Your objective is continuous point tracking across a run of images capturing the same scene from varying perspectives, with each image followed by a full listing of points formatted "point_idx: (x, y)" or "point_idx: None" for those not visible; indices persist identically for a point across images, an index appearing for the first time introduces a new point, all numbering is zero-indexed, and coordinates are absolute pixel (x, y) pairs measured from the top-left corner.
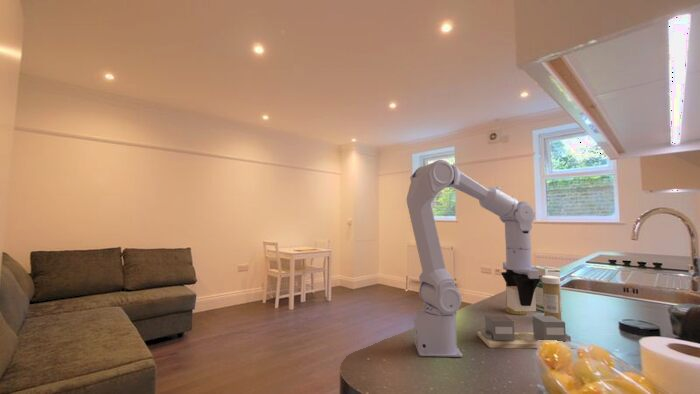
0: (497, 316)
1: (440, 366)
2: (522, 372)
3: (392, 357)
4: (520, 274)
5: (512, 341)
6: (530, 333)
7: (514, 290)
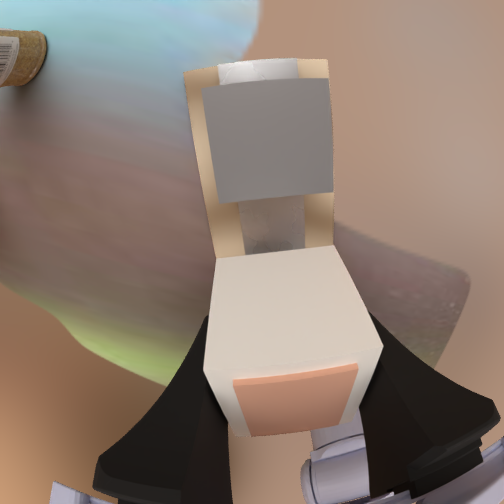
0: None
1: None
2: (438, 281)
3: None
4: (199, 496)
5: None
6: (214, 182)
7: (350, 420)
